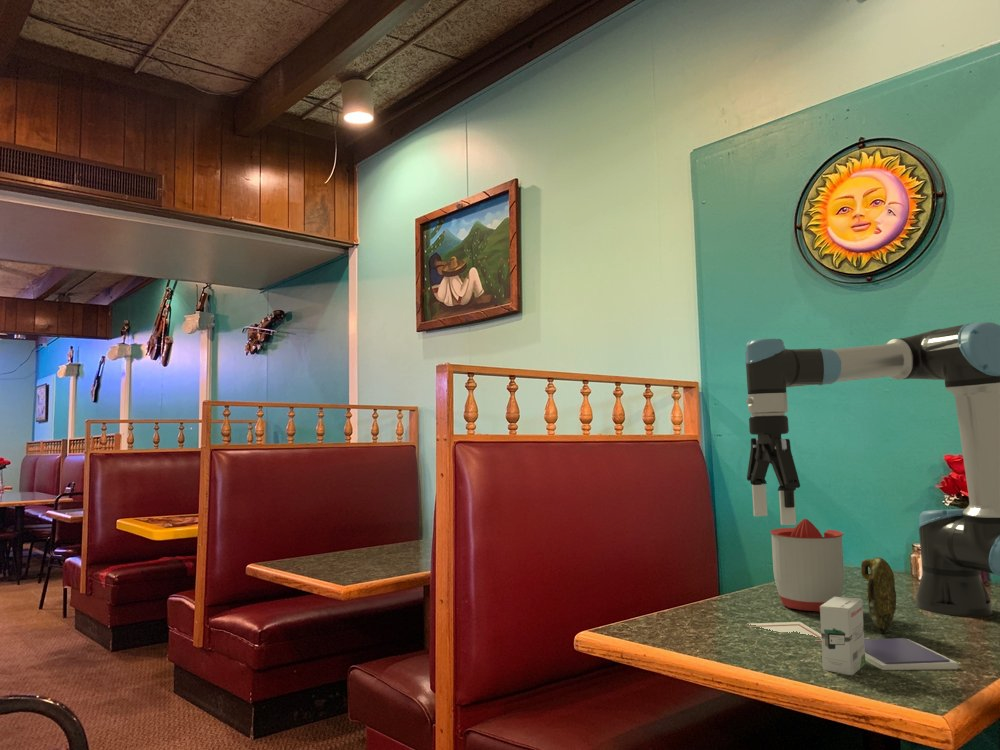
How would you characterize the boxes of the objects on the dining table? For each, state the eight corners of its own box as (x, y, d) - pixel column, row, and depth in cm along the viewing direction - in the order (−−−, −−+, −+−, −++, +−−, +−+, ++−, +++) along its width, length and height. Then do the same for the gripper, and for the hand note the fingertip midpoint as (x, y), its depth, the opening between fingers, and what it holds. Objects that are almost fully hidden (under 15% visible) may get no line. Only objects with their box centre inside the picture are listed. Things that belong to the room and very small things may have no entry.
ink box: (836, 662, 130) (833, 594, 131) (867, 668, 127) (863, 598, 128) (821, 676, 123) (817, 604, 124) (853, 682, 120) (849, 608, 121)
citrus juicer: (857, 603, 171) (852, 516, 173) (836, 619, 158) (830, 524, 159) (789, 594, 181) (785, 512, 183) (763, 608, 168) (759, 520, 169)
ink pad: (908, 646, 138) (907, 637, 138) (957, 671, 124) (957, 660, 124) (840, 648, 137) (840, 639, 138) (882, 673, 123) (881, 663, 124)
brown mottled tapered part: (880, 639, 143) (876, 561, 144) (855, 635, 146) (851, 558, 147) (899, 630, 149) (894, 554, 150) (874, 625, 152) (870, 552, 153)
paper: (799, 623, 155) (799, 621, 155) (837, 645, 139) (837, 643, 139) (725, 625, 155) (725, 623, 155) (754, 648, 139) (754, 646, 139)
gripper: (728, 416, 162) (733, 513, 161) (775, 414, 138) (781, 529, 136) (761, 415, 163) (767, 512, 161) (814, 413, 138) (821, 527, 136)
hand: (773, 520), depth 149 cm, fingers open, 13 cm apart
